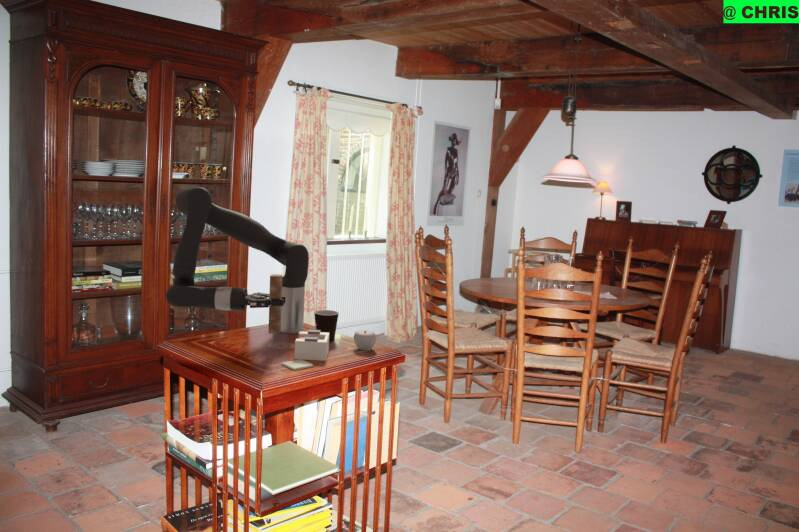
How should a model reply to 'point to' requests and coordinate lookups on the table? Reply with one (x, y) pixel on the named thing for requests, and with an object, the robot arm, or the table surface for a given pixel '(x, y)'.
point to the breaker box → (312, 345)
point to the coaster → (297, 364)
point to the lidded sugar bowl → (364, 339)
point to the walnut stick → (275, 310)
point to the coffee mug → (326, 322)
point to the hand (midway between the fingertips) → (284, 301)
